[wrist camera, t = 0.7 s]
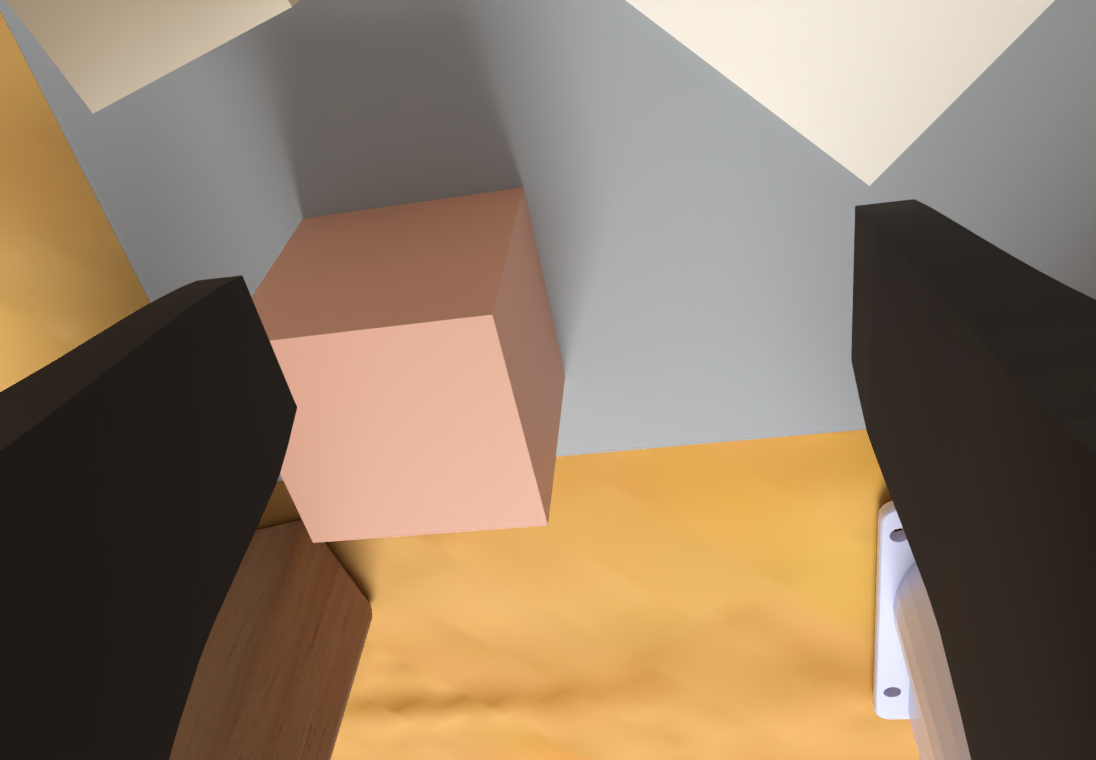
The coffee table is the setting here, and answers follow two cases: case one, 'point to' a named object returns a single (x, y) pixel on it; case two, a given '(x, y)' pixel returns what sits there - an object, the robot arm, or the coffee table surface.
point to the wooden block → (277, 655)
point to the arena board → (589, 186)
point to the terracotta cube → (417, 368)
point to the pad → (849, 62)
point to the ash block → (134, 37)
